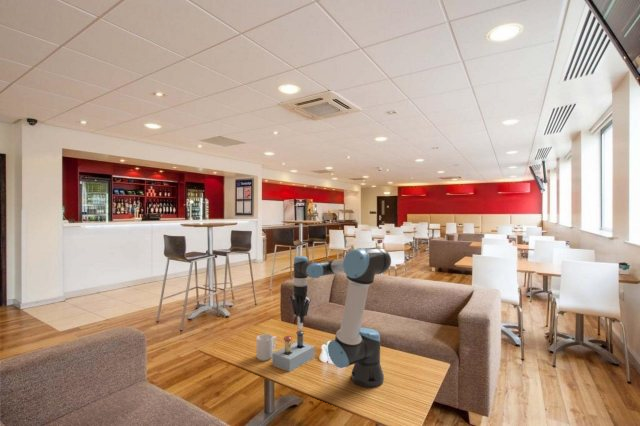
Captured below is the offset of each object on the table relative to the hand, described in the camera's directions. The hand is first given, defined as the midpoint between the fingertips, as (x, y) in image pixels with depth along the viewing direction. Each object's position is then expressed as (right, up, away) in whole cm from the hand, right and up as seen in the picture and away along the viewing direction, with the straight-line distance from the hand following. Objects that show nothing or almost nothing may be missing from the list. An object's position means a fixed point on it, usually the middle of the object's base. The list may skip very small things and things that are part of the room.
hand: (300, 328), depth 173 cm
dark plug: (0, -11, 0) cm, 11 cm away
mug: (-18, -16, +1) cm, 24 cm away
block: (-3, -16, -4) cm, 17 cm away
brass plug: (-6, -11, -8) cm, 15 cm away
